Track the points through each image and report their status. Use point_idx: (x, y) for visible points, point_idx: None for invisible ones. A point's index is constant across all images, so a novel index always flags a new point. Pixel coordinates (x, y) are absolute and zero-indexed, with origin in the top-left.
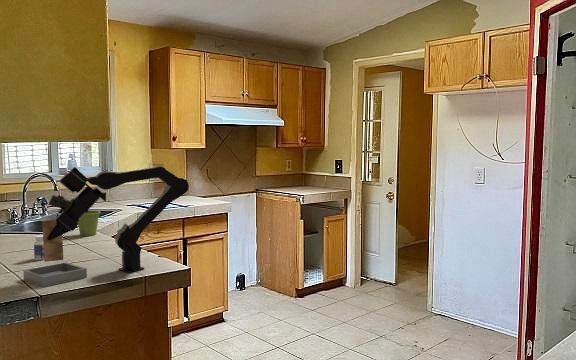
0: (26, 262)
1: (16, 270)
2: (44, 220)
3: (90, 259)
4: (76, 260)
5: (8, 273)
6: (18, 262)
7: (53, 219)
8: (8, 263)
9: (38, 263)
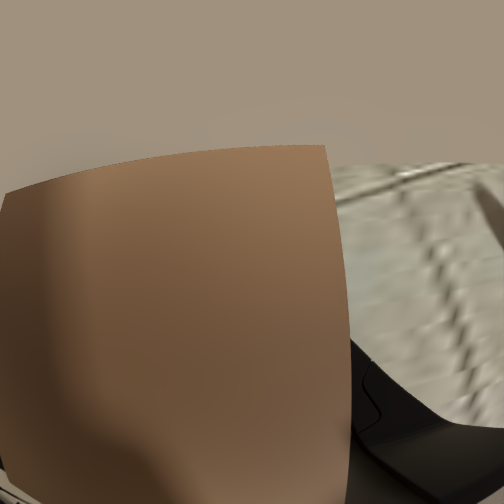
0: (493, 215)
1: (412, 193)
2: (64, 206)
3: (482, 418)
4: (488, 374)
5: (377, 173)
6: (492, 195)
7: (106, 409)
8: (483, 171)
9: (483, 252)
